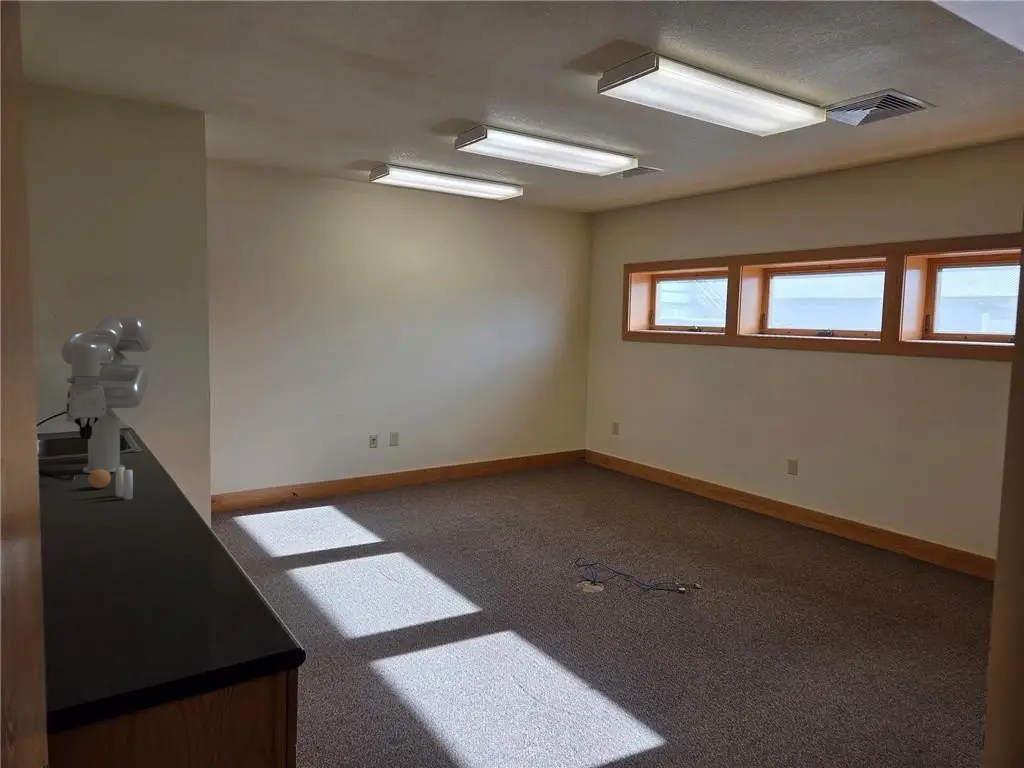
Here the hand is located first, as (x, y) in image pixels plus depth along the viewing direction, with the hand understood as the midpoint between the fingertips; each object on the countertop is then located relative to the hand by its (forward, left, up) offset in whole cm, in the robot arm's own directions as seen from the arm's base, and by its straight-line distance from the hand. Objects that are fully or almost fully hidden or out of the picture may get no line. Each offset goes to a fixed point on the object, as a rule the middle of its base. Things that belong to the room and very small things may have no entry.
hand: (85, 438), depth 213 cm
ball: (+9, +3, -12) cm, 15 cm away
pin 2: (+27, +8, -15) cm, 32 cm away
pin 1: (+22, +6, -15) cm, 27 cm away
